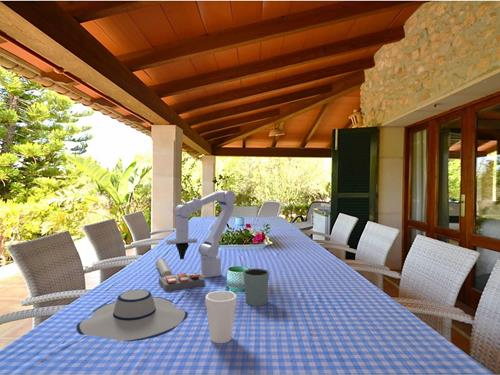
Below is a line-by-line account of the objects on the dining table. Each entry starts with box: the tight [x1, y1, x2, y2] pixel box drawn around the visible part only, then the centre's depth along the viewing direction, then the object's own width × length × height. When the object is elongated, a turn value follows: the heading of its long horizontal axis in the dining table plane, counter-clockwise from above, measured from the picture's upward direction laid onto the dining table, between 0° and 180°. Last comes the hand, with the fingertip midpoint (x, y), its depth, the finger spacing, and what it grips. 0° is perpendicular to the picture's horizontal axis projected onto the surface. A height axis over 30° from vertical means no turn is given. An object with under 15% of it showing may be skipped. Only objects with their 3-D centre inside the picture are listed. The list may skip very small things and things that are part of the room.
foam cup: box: [205, 290, 237, 344], centre depth 104 cm, size 10×9×13 cm
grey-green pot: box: [243, 268, 270, 307], centre depth 135 cm, size 10×10×12 cm
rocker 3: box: [189, 273, 202, 277], centre depth 157 cm, size 4×6×1 cm, turn 27°
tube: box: [155, 257, 173, 278], centre depth 175 cm, size 5×5×25 cm
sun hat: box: [76, 289, 189, 342], centre depth 119 cm, size 36×36×9 cm
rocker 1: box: [165, 274, 177, 283], centre depth 152 cm, size 4×6×1 cm, turn 27°
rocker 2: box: [176, 272, 189, 282], centre depth 154 cm, size 4×6×1 cm, turn 27°
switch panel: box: [158, 272, 206, 292], centre depth 157 cm, size 18×12×3 cm, turn 117°
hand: (181, 258), depth 161 cm, fingers closed
